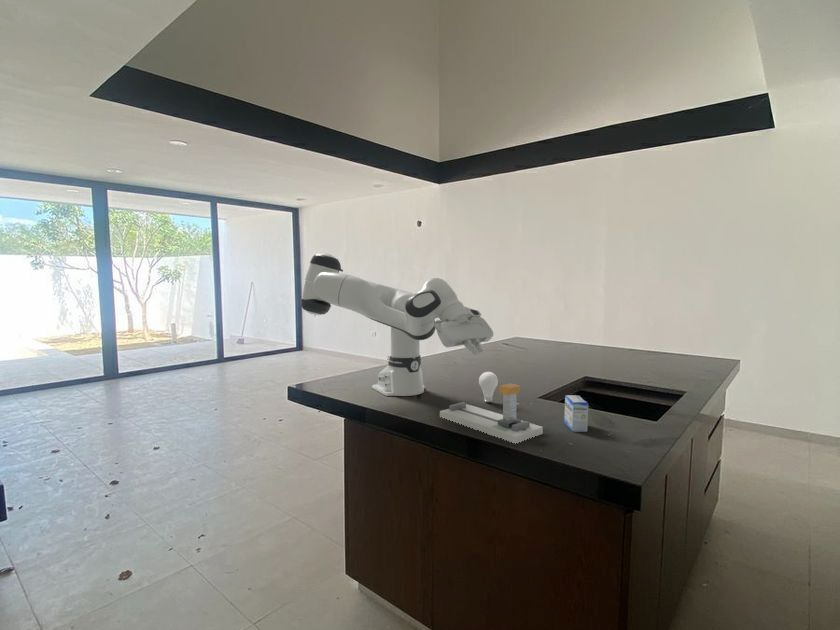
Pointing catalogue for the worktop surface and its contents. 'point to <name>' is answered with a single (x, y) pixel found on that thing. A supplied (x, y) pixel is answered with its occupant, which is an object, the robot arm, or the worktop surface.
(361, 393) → the worktop surface
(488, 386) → the light bulb
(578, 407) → the medicine box
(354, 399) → the worktop surface
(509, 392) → the fader lever
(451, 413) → the fader console
